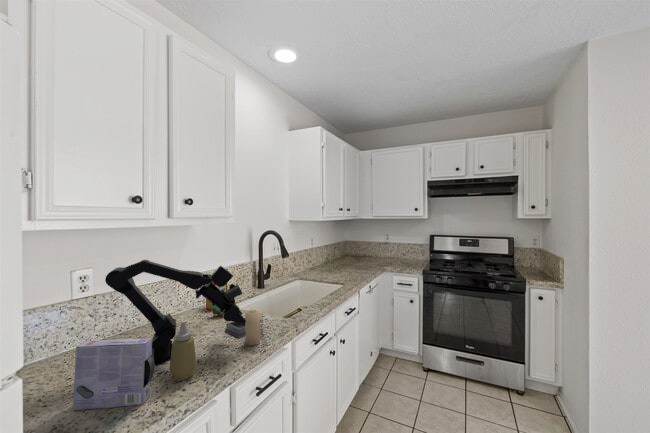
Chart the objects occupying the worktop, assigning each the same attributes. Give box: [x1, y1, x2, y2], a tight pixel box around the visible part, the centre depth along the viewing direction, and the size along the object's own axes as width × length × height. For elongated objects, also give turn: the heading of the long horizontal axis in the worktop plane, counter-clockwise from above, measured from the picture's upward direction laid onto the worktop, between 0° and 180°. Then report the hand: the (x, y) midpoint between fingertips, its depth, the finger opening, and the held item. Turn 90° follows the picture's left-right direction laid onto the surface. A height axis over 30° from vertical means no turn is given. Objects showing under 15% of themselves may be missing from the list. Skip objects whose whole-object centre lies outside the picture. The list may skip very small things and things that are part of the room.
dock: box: [224, 317, 245, 339], centre depth 130 cm, size 11×11×4 cm
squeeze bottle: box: [169, 321, 197, 382], centre depth 93 cm, size 8×8×18 cm
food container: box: [212, 305, 225, 318], centre depth 149 cm, size 12×6×10 cm, turn 143°
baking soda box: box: [205, 283, 228, 312], centre depth 161 cm, size 10×6×16 cm
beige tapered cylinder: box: [244, 308, 261, 346], centre depth 118 cm, size 6×6×13 cm
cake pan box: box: [72, 337, 156, 411], centre depth 80 cm, size 19×5×18 cm, turn 99°
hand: (243, 318), depth 117 cm, fingers open, 9 cm apart
